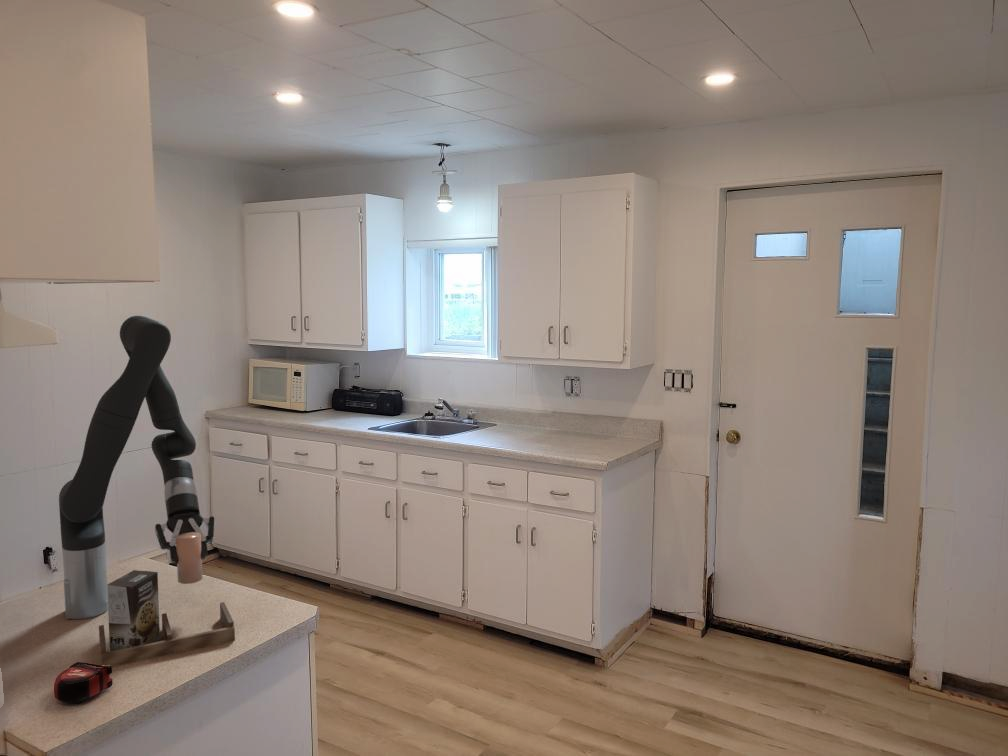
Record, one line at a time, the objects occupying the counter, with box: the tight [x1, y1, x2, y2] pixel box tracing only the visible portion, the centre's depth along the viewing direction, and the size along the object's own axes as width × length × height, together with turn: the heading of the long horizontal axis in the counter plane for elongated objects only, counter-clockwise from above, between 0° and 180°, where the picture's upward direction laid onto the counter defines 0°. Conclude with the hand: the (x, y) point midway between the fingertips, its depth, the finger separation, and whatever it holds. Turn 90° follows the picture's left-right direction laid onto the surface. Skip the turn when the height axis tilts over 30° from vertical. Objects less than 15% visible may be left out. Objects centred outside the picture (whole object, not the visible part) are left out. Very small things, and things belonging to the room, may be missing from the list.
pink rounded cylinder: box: [176, 532, 203, 585], centre depth 181 cm, size 6×6×11 cm
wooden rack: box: [98, 602, 236, 667], centre depth 170 cm, size 27×13×4 cm, turn 120°
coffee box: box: [107, 569, 161, 652], centre depth 167 cm, size 9×6×16 cm
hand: (190, 559), depth 181 cm, fingers closed on pink rounded cylinder, 5 cm apart
